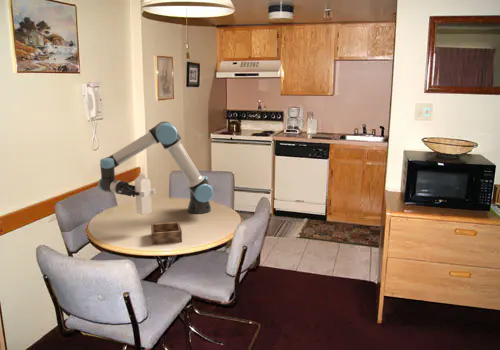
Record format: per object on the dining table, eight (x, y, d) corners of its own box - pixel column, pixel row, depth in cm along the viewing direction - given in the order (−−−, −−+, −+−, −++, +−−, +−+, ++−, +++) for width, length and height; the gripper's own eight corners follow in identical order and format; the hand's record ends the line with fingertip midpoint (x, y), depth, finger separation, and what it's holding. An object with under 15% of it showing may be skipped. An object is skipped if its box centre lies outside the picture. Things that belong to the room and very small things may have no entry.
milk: (145, 210, 238) (144, 172, 234) (151, 212, 234) (150, 173, 229) (136, 212, 234) (134, 173, 229) (142, 215, 230) (140, 175, 225)
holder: (179, 232, 238) (179, 222, 237) (181, 242, 223) (181, 231, 222) (151, 234, 234) (150, 224, 233) (152, 244, 220) (151, 233, 218)
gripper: (133, 190, 250) (162, 195, 238) (106, 197, 233) (136, 204, 221) (133, 177, 248) (162, 182, 236) (105, 184, 231) (135, 190, 220)
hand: (149, 193), depth 229 cm, fingers closed on milk, 7 cm apart
